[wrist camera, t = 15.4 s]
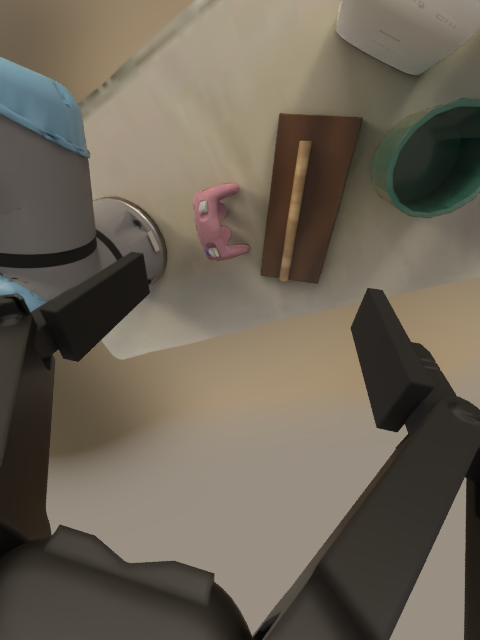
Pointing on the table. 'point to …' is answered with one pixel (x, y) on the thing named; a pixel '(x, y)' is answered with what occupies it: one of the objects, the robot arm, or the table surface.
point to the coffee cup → (431, 160)
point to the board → (308, 190)
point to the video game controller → (215, 222)
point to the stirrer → (295, 207)
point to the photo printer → (408, 29)
